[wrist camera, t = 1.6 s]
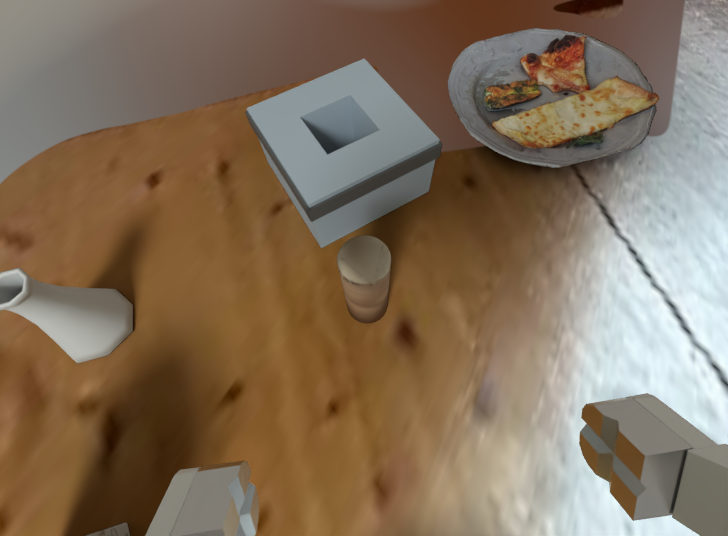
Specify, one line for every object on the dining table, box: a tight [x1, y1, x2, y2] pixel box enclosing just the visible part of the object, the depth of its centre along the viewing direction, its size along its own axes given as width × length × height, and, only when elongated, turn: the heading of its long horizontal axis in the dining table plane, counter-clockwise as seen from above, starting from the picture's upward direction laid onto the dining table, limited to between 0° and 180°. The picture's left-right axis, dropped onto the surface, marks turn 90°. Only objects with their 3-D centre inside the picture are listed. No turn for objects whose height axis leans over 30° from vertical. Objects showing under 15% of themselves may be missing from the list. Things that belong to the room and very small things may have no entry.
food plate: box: [448, 28, 659, 168], centre depth 45 cm, size 25×23×4 cm
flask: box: [0, 268, 133, 363], centre depth 31 cm, size 7×7×10 cm
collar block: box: [245, 59, 442, 248], centre depth 39 cm, size 14×14×8 cm
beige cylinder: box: [337, 236, 391, 323], centre depth 31 cm, size 4×4×10 cm
